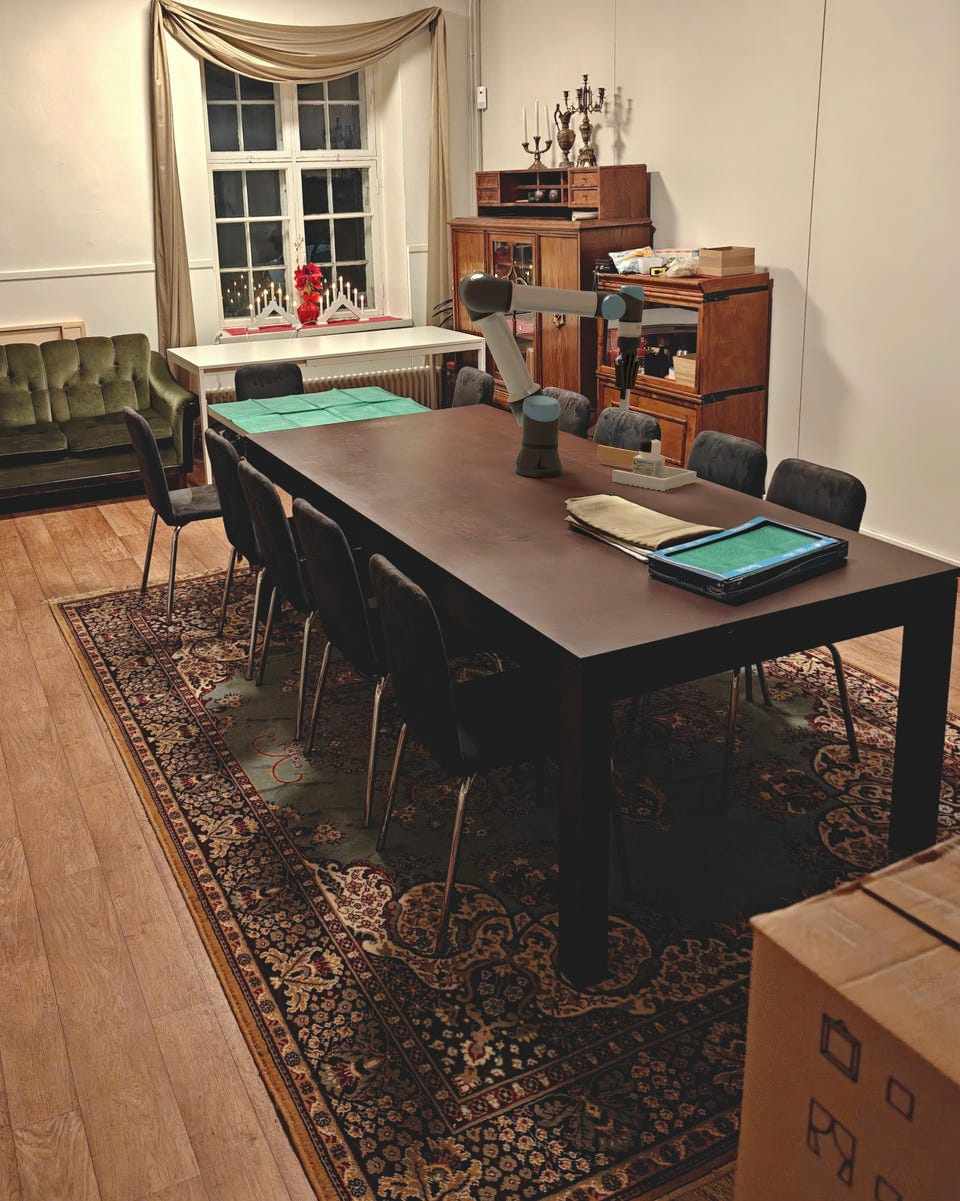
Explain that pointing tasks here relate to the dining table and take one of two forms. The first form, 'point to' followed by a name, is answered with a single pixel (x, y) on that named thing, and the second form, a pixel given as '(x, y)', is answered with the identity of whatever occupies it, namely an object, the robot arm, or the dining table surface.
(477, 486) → the dining table surface
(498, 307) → the robot arm
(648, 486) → the c-shaped frame
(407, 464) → the dining table surface
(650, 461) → the container
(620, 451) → the gate
